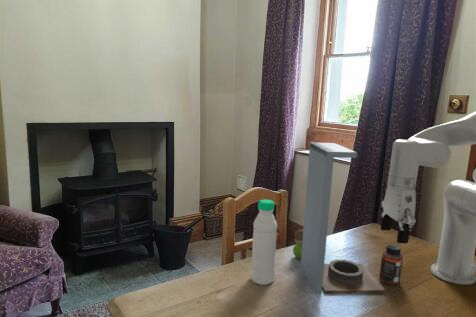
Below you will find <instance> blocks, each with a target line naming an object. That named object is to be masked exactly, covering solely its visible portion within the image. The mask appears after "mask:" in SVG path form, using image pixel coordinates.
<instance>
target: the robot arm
mask: <svg viewBox="0 0 476 317" xmlns="http://www.w3.org/2000/svg"><path fill="white" fill-rule="evenodd" d="M392 144H393V145H392V149H391V157H390V164H389V171H388V178H387V184H386V185H387V186H386V190H385V194H384V198H383V199H384V200H382V201H381V221H380V222H381V224H380V230H381V231H391V230H392V225H393V220H394V221H395V222H397V223H398V225H399V229H398V231H397V237H396V243H397V244H409V238H410V234H411V233H410V232H411V231H412V230H413V228H414V225H415V224H416V222H417V221H416V218H415V215H416V214H415V213H416V206H417V205H416V203H417V202H416V201H417V199H416V198H417V195H416V194H417V192H416V183H417V179H418V178H417V177H418V173H419V166H422V167H430V168H441V167H443V166H445V165H447V164H448V163H449V162H450V160H451V157H452V152H451V149H450V147H462V146H463V147H464V146H470V145H472V146H473V145H476V110H475V111H473V112H472V113H470V114H468V115H466V116H465V117H464V116H463V117H462V118H459V119H457V120H453V121H449V122H446V123H443V124H438V125H434V126H432V127H427V129H424V130H422V131H420V132H418V133H416V134H414V135H413V136H411V137H409V138H408V139H395V141H393V143H392ZM472 179H473V181H471V180H467V179H455V180H452V181H451V182H449V183H448V184H447V185H446V187H445V188H444V191H443V204H444V214H443V215H444V216H443V222H442V227H441V228H442V229H441V234H440V236H441V237H440V242H439V247H438V248H439V249H438V254H437V262H436V263H433V264H431V265H430V272H431V273H432V274H433V275H434V276H435V277H438V278H439V279H441V280H443V281H445V282H448V283H452V284H456V285H460V286H461V285H463V286H469V285H473V284H475V283H476V275H475V274H476V263H475V262H474V257H475V250H476V168H475V169H474V170H473V172H472Z"/></svg>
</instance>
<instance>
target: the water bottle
mask: <svg viewBox="0 0 476 317" xmlns="http://www.w3.org/2000/svg"><path fill="white" fill-rule="evenodd" d="M257 208H258V211H259V212H258V213H257V216H256V217H255V219H254V222H253V231H252V232H253V234H252V246H251V248H252V249H251V250H252V251H251V252H252V257H251V271H250V279H251V280H252V282H253V283H255V284H256V285H257V284H258V285H262V286H265V285H269V284H272V282H273V281H274V280H275V265H276V264H275V263H276V261H275V260H276V259H275V256H276V249H277V247H276V246H277V230H278V223H277V221H276V219H275V215H274V213H273V212H274V209H275V202H274V200H271V199H260V200H258V204H257Z"/></svg>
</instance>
